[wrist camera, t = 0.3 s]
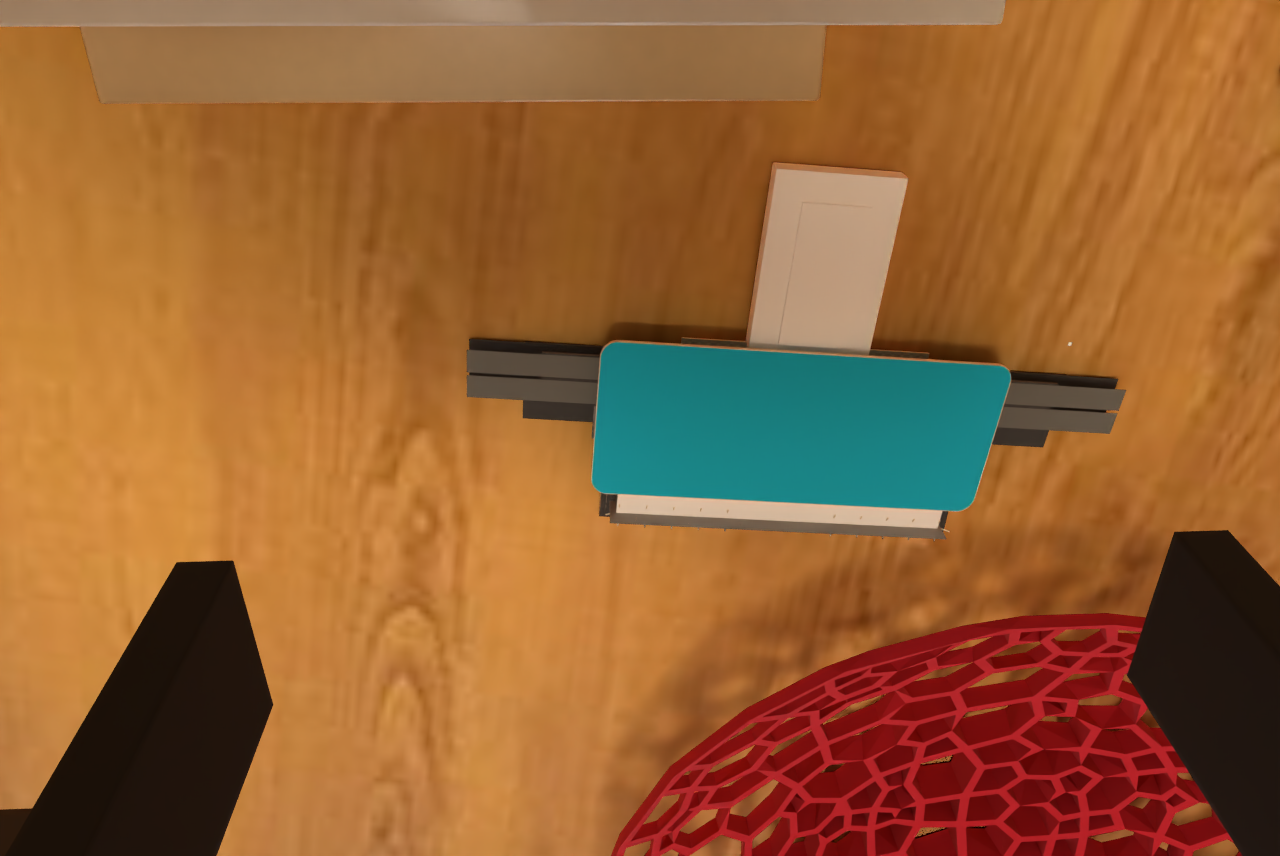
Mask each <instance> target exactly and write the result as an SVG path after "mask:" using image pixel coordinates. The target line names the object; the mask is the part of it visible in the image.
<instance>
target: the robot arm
mask: <svg viewBox="0 0 1280 856" xmlns="http://www.w3.org/2000/svg"><path fill="white" fill-rule="evenodd" d="M1127 676H1128V678H1129V679H1130V681H1131V682H1132V684H1133V686H1134V687H1135V689H1136V690H1137V692H1138V693H1139V695H1140V697H1141V698H1142V700H1143V701H1144V703H1145V704H1146V706H1147V707H1148V709H1149V711H1150V712H1151V714H1152V715H1153V717H1154V718H1155V720H1156V722H1157V723H1158V725H1159V726H1160V728H1161V729H1162V731H1163V732H1164V734H1165V736H1166V737H1167V739H1168V740H1169V742H1170V743H1171V745H1172V747H1173V748H1174V750H1175V751H1176V753H1177V754H1178V756H1179V757H1180V759H1181V761H1182V762H1183V764H1184V765H1185V767H1186V768H1187V770H1188V772H1189V773H1190V775H1191V776H1192V778H1193V779H1194V781H1195V783H1196V784H1197V786H1198V787H1199V789H1200V790H1201V792H1202V793H1203V795H1204V797H1205V798H1206V800H1207V801H1208V803H1209V804H1210V806H1211V808H1212V809H1213V811H1214V812H1215V814H1216V815H1217V817H1218V818H1219V820H1220V822H1221V823H1222V825H1223V826H1224V828H1225V829H1226V831H1227V833H1228V834H1229V836H1230V837H1231V839H1232V840H1233V842H1234V844H1235V845H1236V847H1237V848H1238V850H1239V851H1240V853H1241V854H1242V856H1280V586H1279V585H1278V584H1277V583H1276V582H1275V581H1274V580H1273V579H1272V578H1271V577H1270V575H1269V574H1268V573H1267V572H1266V571H1265V570H1264V569H1263V568H1262V567H1261V566H1260V565H1259V564H1258V562H1257V561H1256V560H1255V559H1254V558H1253V557H1252V556H1251V555H1250V554H1249V553H1248V552H1247V551H1246V549H1245V548H1244V547H1243V546H1242V545H1241V544H1240V543H1239V542H1238V541H1237V540H1236V539H1235V538H1234V536H1233V535H1232V534H1231V533H1230V532H1229V531H1228V530H1223V531H1190V532H1174V535H1173V538H1172V541H1171V544H1170V547H1169V550H1168V553H1167V556H1166V559H1165V562H1164V565H1163V568H1162V571H1161V574H1160V577H1159V580H1158V583H1157V586H1156V589H1155V592H1154V595H1153V598H1152V601H1151V604H1150V607H1149V610H1148V613H1147V616H1146V619H1145V622H1144V625H1143V628H1142V631H1141V634H1140V637H1139V640H1138V643H1137V646H1136V649H1135V652H1134V655H1133V658H1132V661H1131V664H1130V667H1129V670H1128V673H1127ZM272 706H273V702H272V699H271V695H270V692H269V688H268V684H267V681H266V677H265V674H264V670H263V666H262V663H261V659H260V656H259V652H258V648H257V645H256V641H255V638H254V634H253V630H252V627H251V623H250V620H249V616H248V612H247V609H246V605H245V602H244V598H243V594H242V591H241V587H240V584H239V580H238V576H237V573H236V569H235V565H234V562H233V561H206V562H177V563H176V564H175V566H174V568H173V569H172V571H171V573H170V575H169V576H168V578H167V580H166V581H165V583H164V585H163V587H162V588H161V590H160V592H159V593H158V595H157V597H156V598H155V600H154V602H153V604H152V605H151V607H150V609H149V610H148V612H147V614H146V616H145V617H144V619H143V621H142V622H141V624H140V626H139V627H138V629H137V631H136V633H135V634H134V636H133V638H132V639H131V641H130V643H129V645H128V646H127V648H126V650H125V651H124V653H123V655H122V657H121V658H120V660H119V662H118V663H117V665H116V667H115V668H114V670H113V672H112V674H111V675H110V677H109V679H108V680H107V682H106V684H105V686H104V687H103V689H102V691H101V692H100V694H99V696H98V697H97V699H96V701H95V703H94V704H93V706H92V708H91V709H90V711H89V713H88V715H87V716H86V718H85V720H84V721H83V723H82V725H81V726H80V728H79V730H78V732H77V733H76V735H75V737H74V738H73V740H72V742H71V744H70V745H69V747H68V749H67V750H66V752H65V754H64V756H63V757H62V759H61V761H60V762H59V764H58V766H57V767H56V769H55V771H54V773H53V774H52V776H51V778H50V779H49V781H48V783H47V785H46V786H45V788H44V790H43V791H42V793H41V795H40V796H39V798H38V800H37V802H36V803H35V805H34V807H33V808H32V809H8V810H0V856H216V855H217V853H218V850H219V847H220V845H221V842H222V839H223V837H224V834H225V831H226V829H227V826H228V823H229V821H230V818H231V815H232V813H233V810H234V807H235V805H236V802H237V799H238V797H239V794H240V791H241V789H242V786H243V784H244V781H245V778H246V776H247V773H248V770H249V768H250V765H251V762H252V760H253V757H254V754H255V752H256V749H257V746H258V744H259V741H260V738H261V736H262V733H263V730H264V728H265V725H266V722H267V720H268V717H269V714H270V712H271V709H272Z"/></svg>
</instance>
